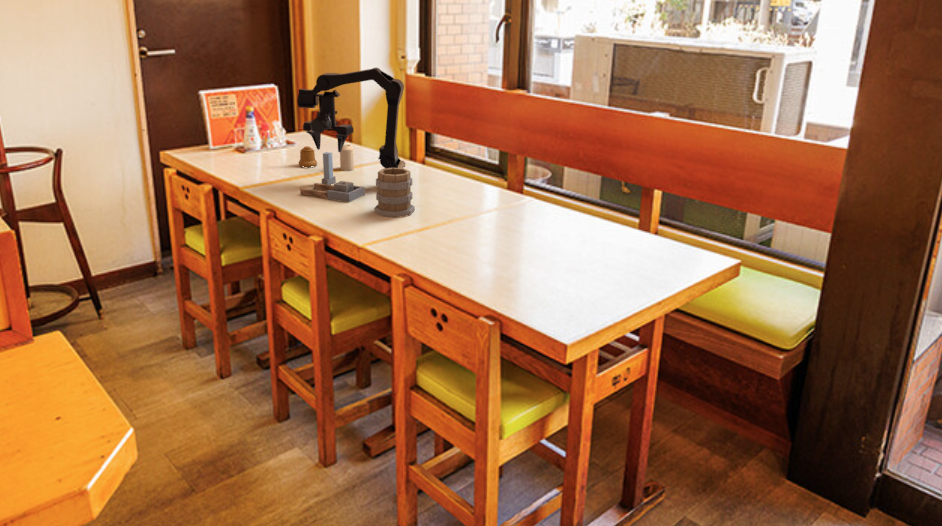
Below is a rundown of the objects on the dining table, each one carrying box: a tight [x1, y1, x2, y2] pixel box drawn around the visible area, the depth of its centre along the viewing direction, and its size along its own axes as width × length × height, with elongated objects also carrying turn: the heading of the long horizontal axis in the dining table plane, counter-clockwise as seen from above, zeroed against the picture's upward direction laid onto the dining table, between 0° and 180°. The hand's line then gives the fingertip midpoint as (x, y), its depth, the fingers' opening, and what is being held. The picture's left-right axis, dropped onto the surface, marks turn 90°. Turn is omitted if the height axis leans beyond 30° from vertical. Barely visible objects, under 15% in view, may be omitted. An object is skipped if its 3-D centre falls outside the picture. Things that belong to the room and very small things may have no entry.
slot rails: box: [300, 182, 334, 199], centre depth 273 cm, size 11×10×2 cm
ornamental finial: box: [298, 146, 318, 167], centre depth 309 cm, size 8×8×8 cm
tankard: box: [373, 160, 416, 218], centre depth 255 cm, size 20×13×15 cm, turn 168°
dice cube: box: [333, 180, 354, 193], centre depth 269 cm, size 5×5×5 cm
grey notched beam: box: [321, 151, 337, 185], centre depth 283 cm, size 2×6×12 cm, turn 157°
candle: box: [339, 144, 355, 172], centre depth 305 cm, size 6×6×10 cm
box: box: [326, 184, 366, 203], centre depth 269 cm, size 9×10×3 cm
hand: (329, 150), depth 281 cm, fingers open, 9 cm apart
